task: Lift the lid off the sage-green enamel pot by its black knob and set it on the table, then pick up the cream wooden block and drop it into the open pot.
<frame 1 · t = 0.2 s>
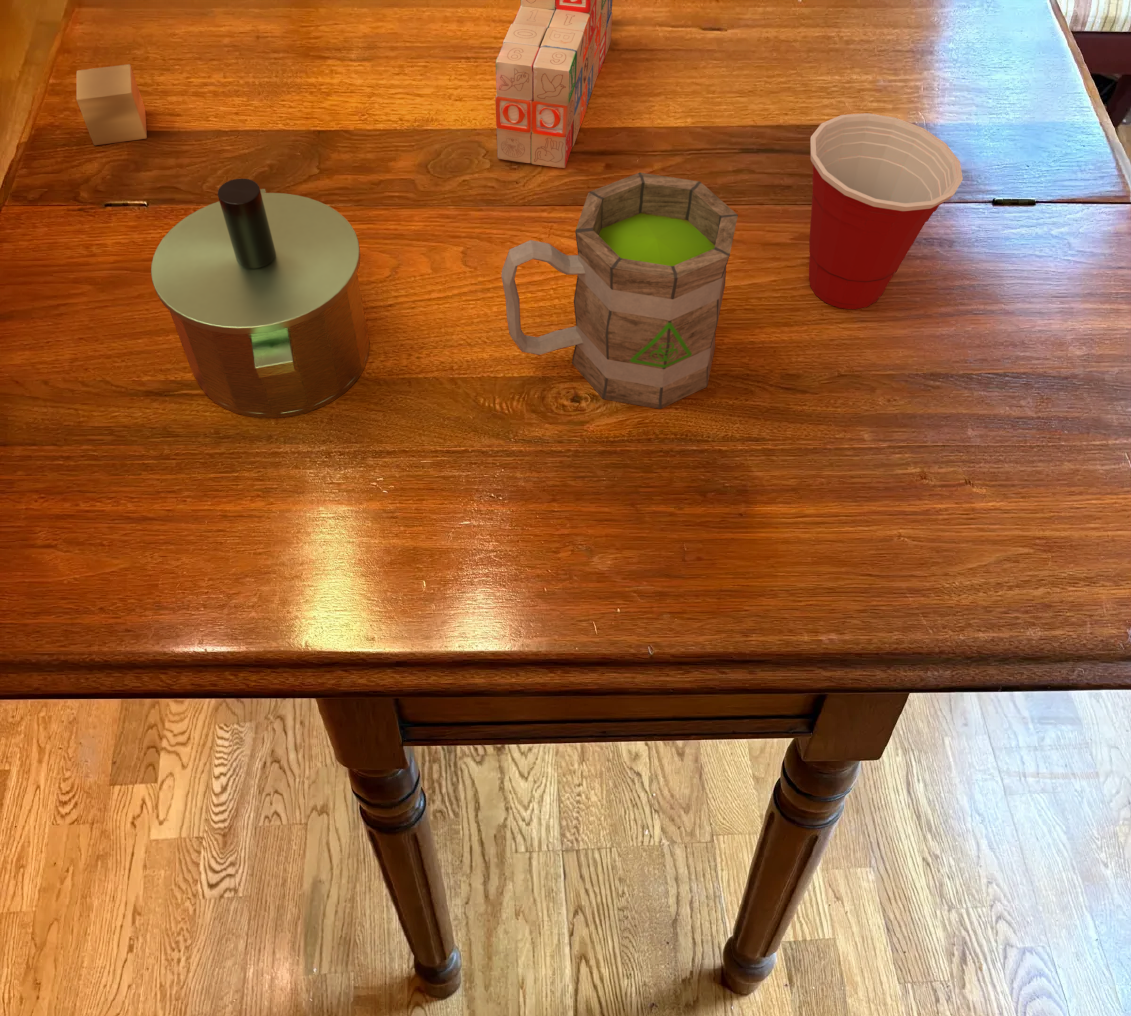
mug: (611, 360, 79), on the table
stack of blocks: (557, 99, 99), on the table
lid: (258, 263, 72), point 8 cm above the table, touching pot
block: (120, 127, 95), on the table
pot: (282, 354, 79), on the table
plastic cup: (847, 287, 85), on the table
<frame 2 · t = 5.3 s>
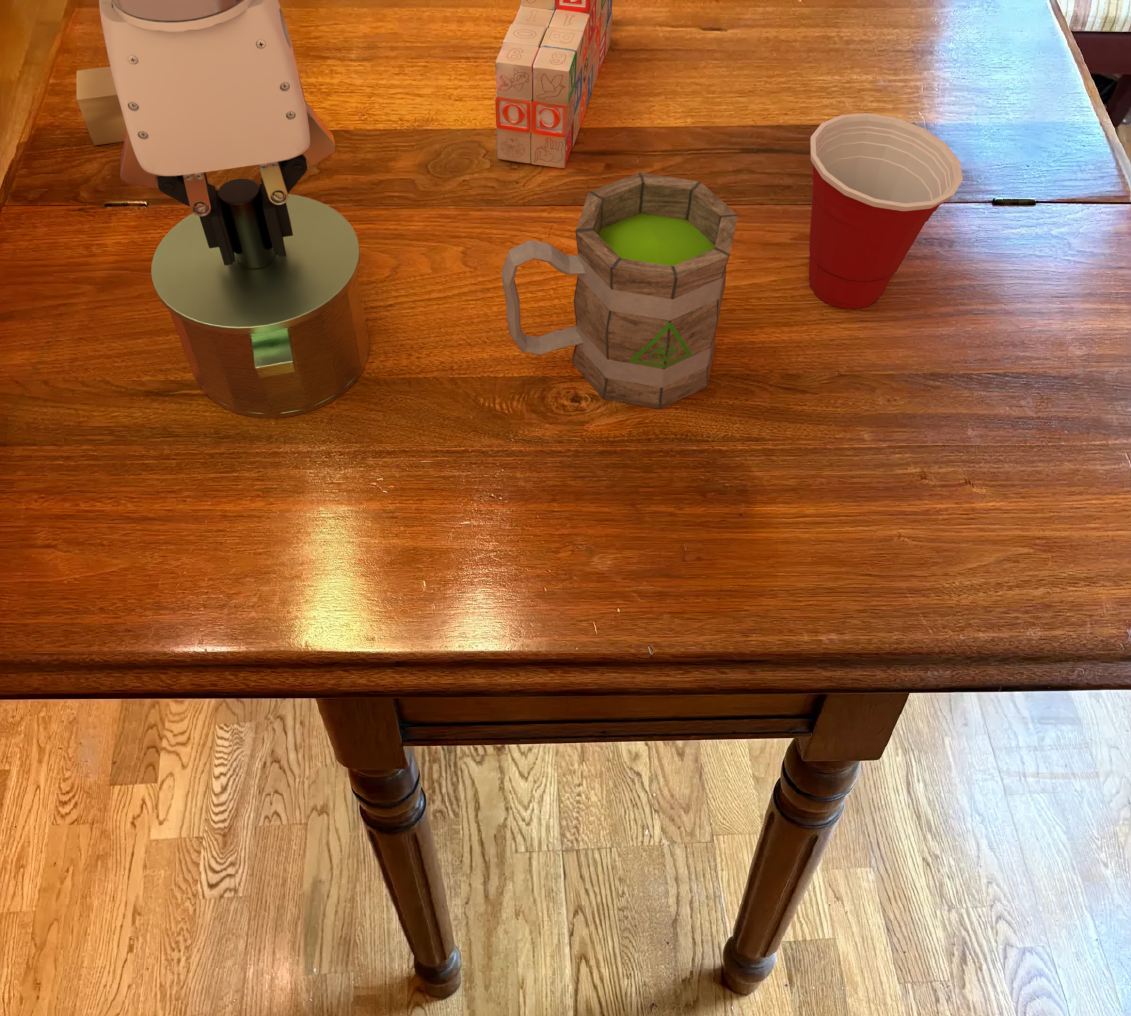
hand: (253, 245, 71), 10 cm above the table, tool pointing down, fingers closed on lid, 2 cm apart
lid: (258, 263, 72), point 9 cm above the table, touching gripper, pot
everything else where it was.
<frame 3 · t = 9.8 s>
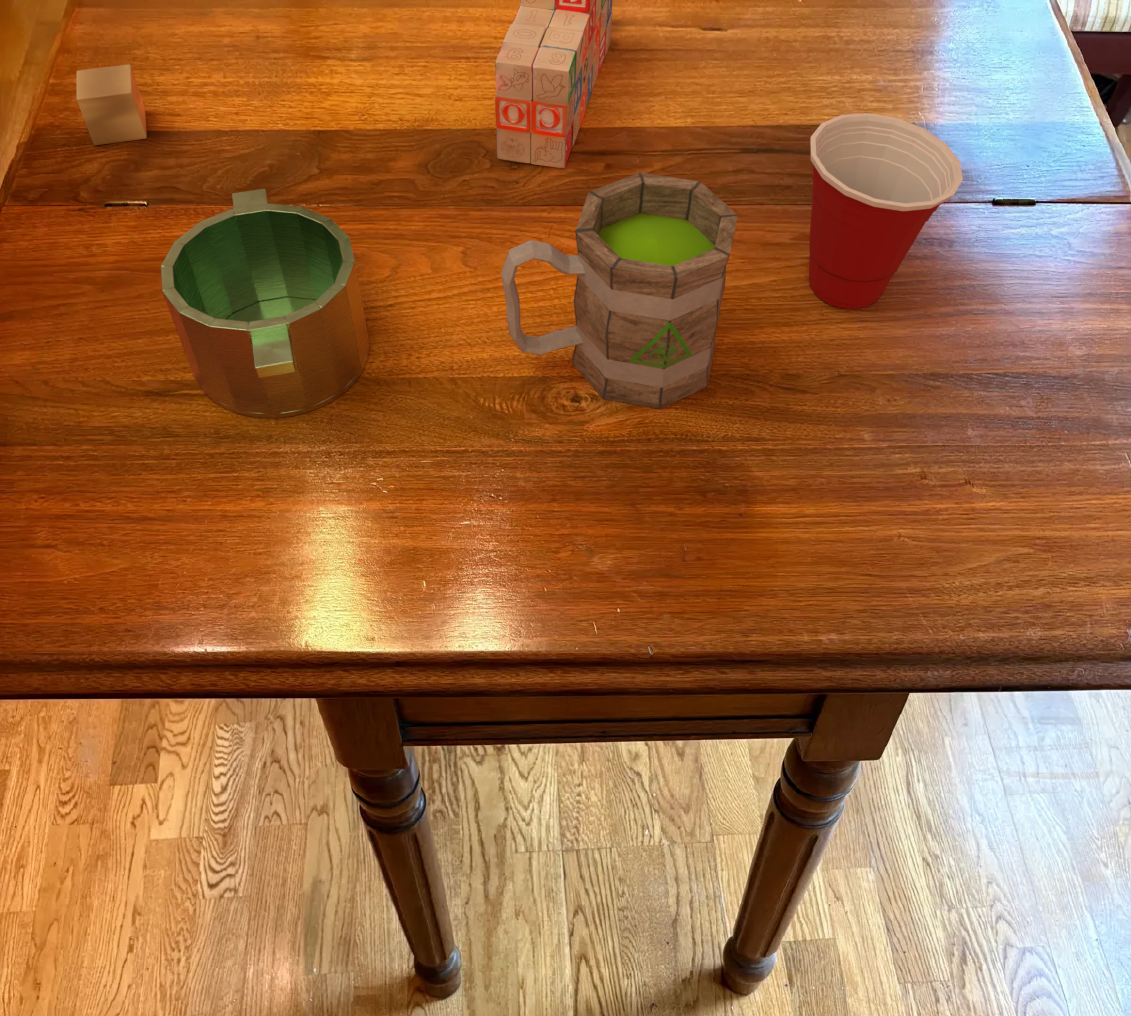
when the fingers open (2 cm above the table, at t = 14.4 s): lid stays where it is, point 1 cm above the table.
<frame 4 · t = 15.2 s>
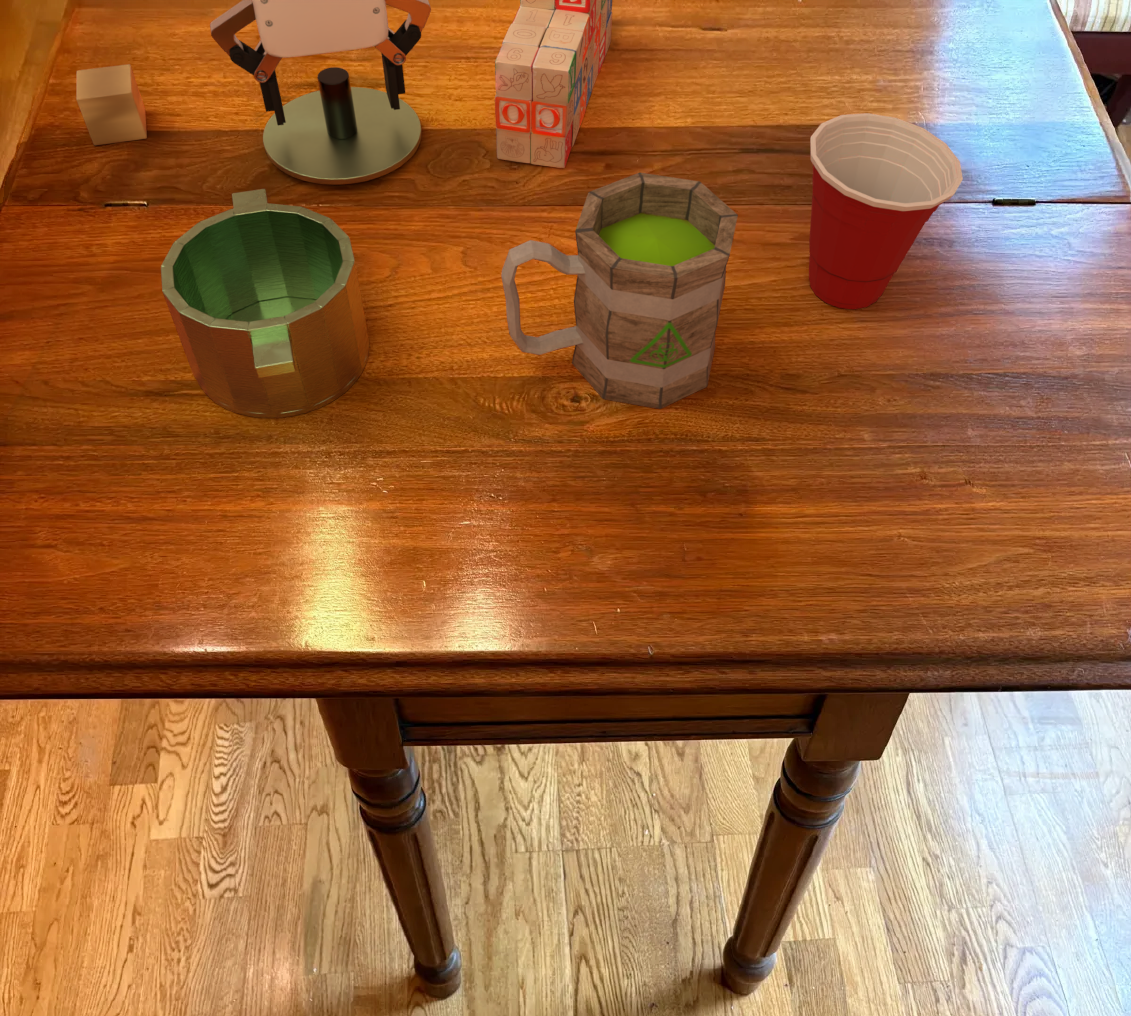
hand: (337, 108, 92), 3 cm above the table, tool pointing down, fingers open, 9 cm apart
lid: (343, 136, 94), point 1 cm above the table
everything else where it was.
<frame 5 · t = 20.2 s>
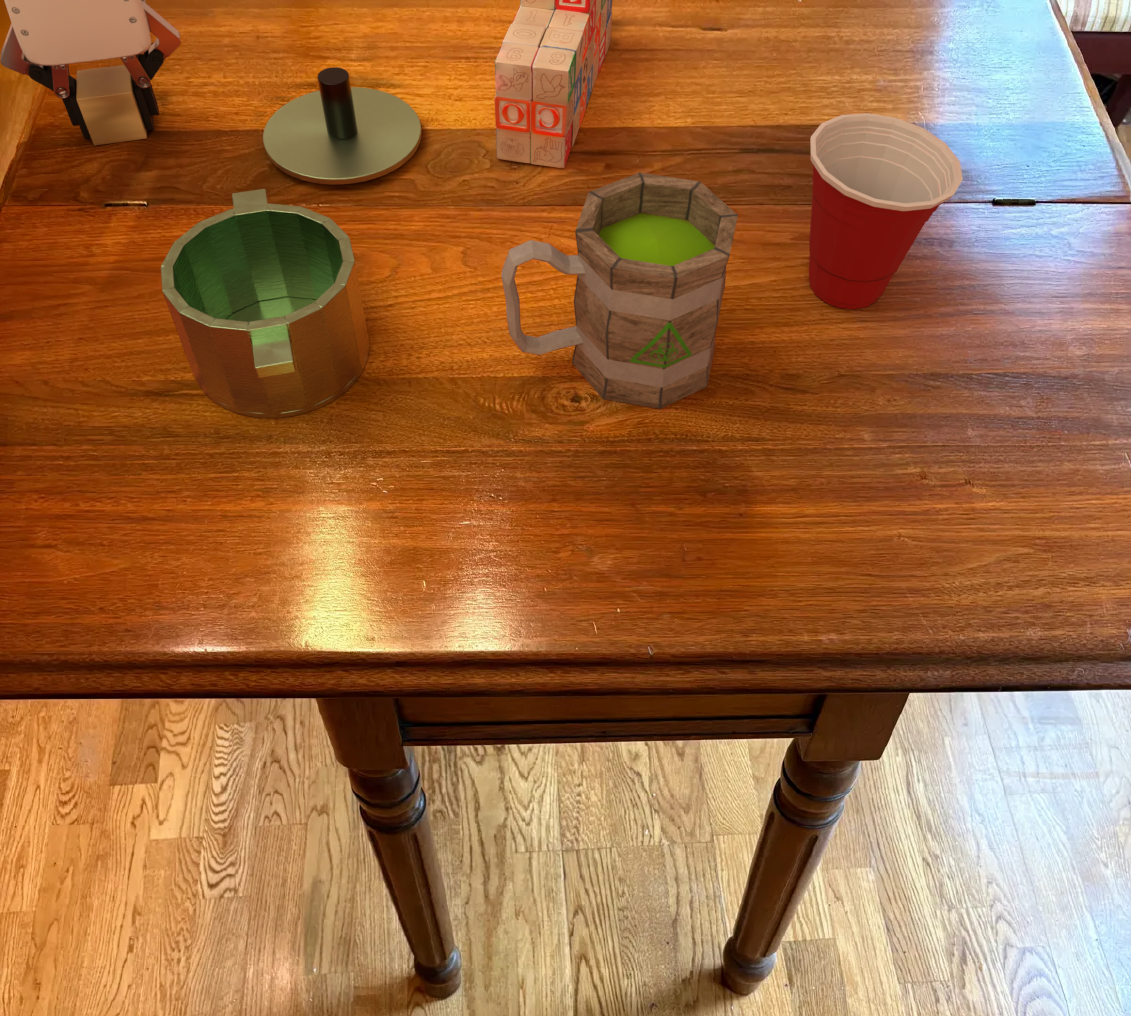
hand: (118, 124, 95), 0 cm above the table, tool pointing down, fingers closed on block, 4 cm apart
block: (120, 127, 95), on the table, touching gripper
everything else where it was.
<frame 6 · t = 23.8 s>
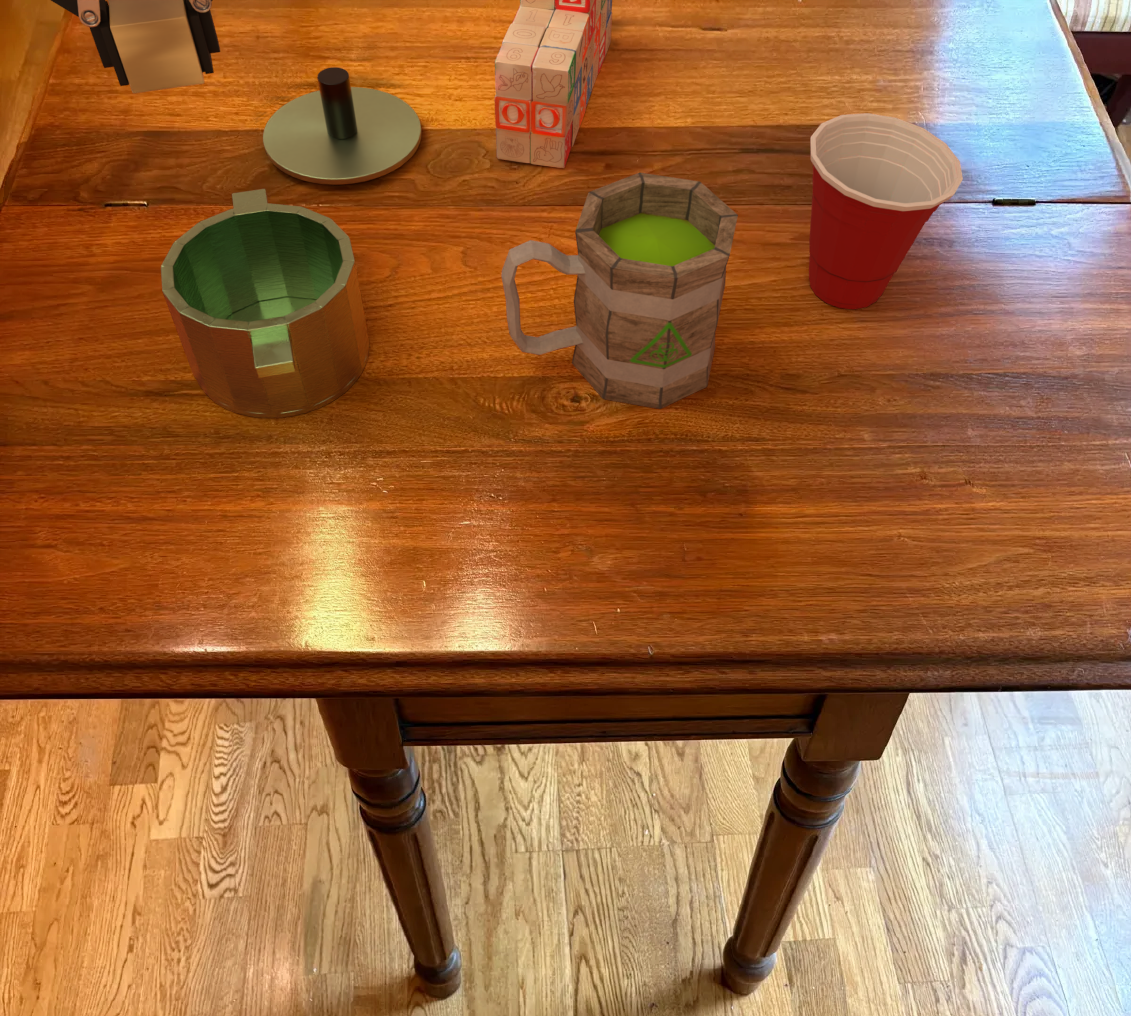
hand: (165, 65, 70), 18 cm above the table, tool pointing down, fingers closed on block, 4 cm apart
block: (167, 70, 70), point 17 cm above the table, touching gripper
everything else where it was.
when the fingers open (7 cm above the table, at t = 27.7 s): block drops 6 cm, resting on pot.
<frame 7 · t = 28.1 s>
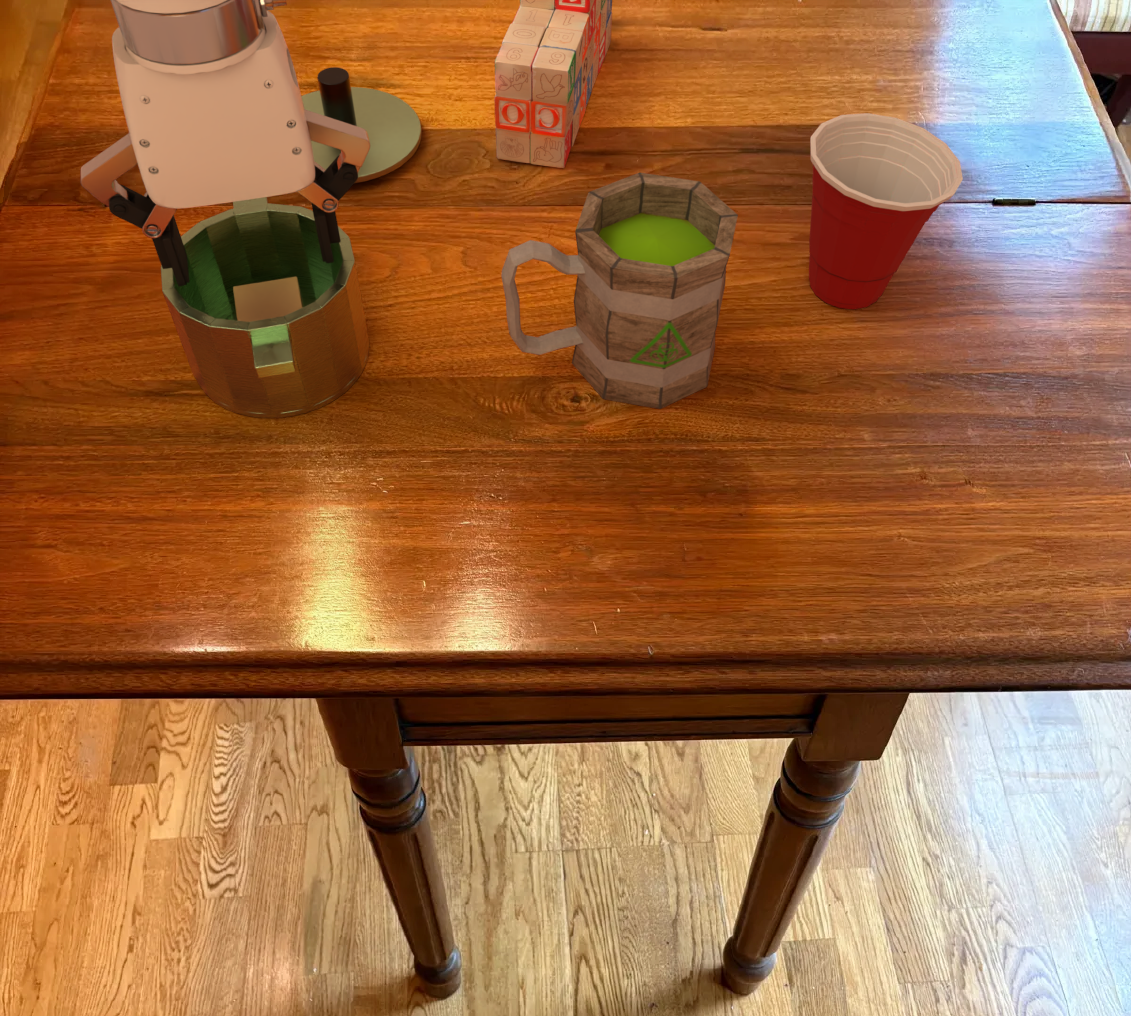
hand: (255, 260, 72), 9 cm above the table, tool pointing down, fingers open, 9 cm apart
block: (280, 348, 78), point 1 cm above the table, touching pot
everything else where it was.
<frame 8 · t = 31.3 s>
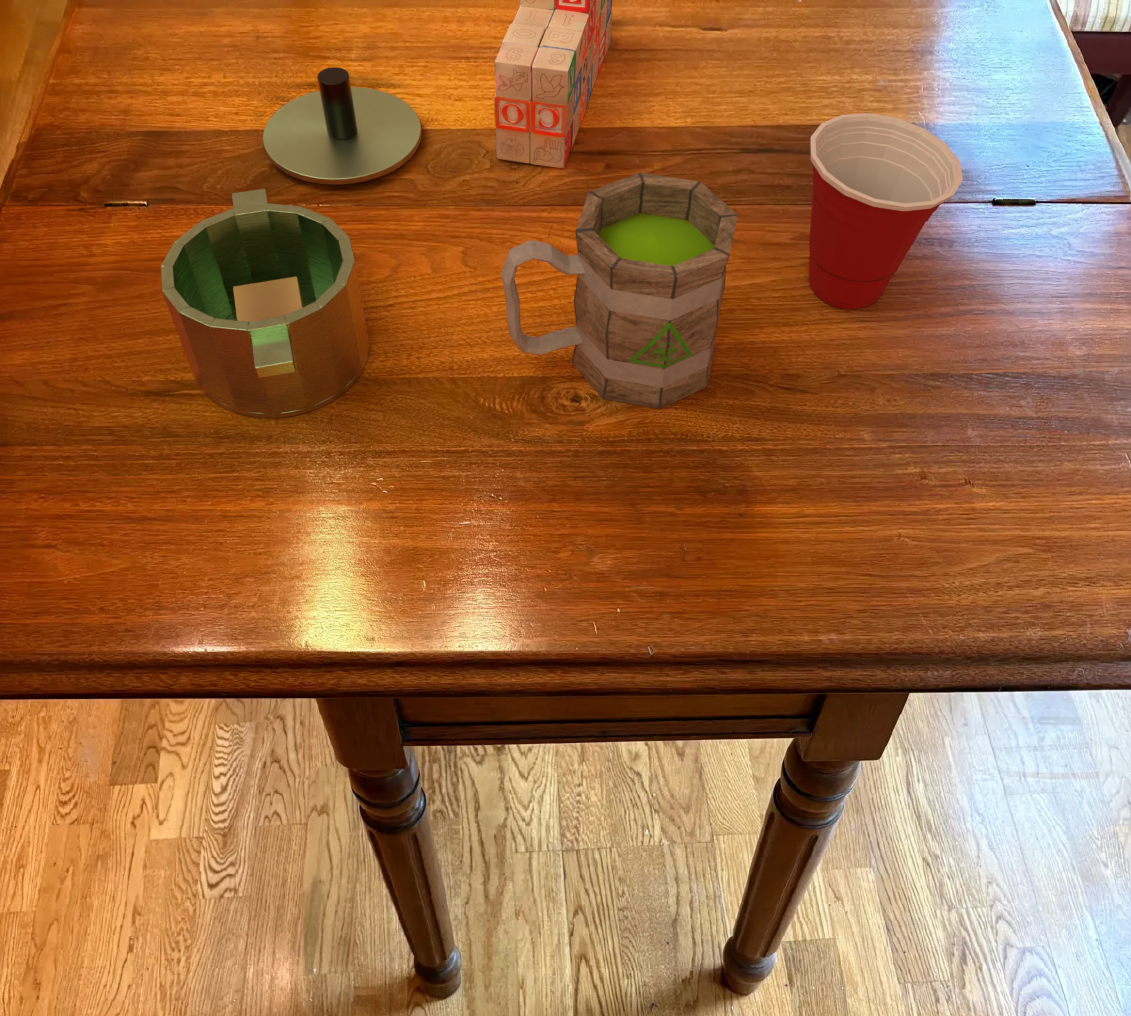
nothing on the table moved.
at the end: lid inside the target area (0.1 cm from its centre), point 0.6 cm above the table; block inside the target area in the pot (0.1 cm from its centre), point 0.5 cm above the pot's base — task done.
